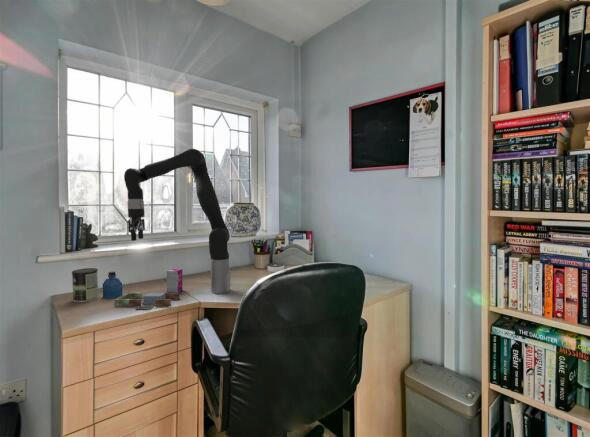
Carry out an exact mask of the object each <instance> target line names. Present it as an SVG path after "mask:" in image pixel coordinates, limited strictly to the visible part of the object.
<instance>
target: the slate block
mask: <svg viewBox="0 0 590 437" xmlns="http://www.w3.org/2000/svg"><path fill="white" fill-rule="evenodd" d="M165 293H166V292H148V293H146V294H145V295H143V296H142V301H143V302H142V303H143V305H155V300H156V299H166V296H165Z"/></svg>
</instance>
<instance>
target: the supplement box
mask: <svg viewBox="0 0 590 437" xmlns="http://www.w3.org/2000/svg"><path fill="white" fill-rule="evenodd" d="M181 291H183V269H181V268H172V269H168V270H166V293H180V292H181Z"/></svg>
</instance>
